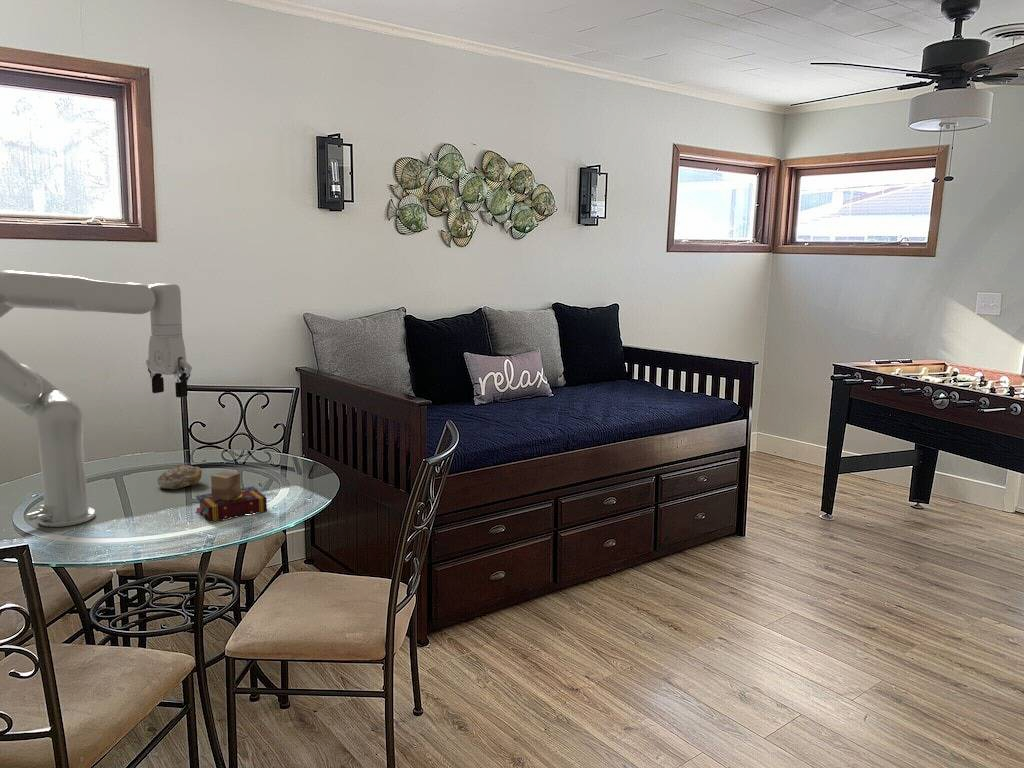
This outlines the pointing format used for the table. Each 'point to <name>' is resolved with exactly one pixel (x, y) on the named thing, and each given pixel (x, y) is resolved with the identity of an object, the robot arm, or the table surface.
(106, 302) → the robot arm
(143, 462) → the table surface
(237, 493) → the walnut block
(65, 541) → the table surface
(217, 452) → the table surface
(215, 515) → the decorative book
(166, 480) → the fossil
